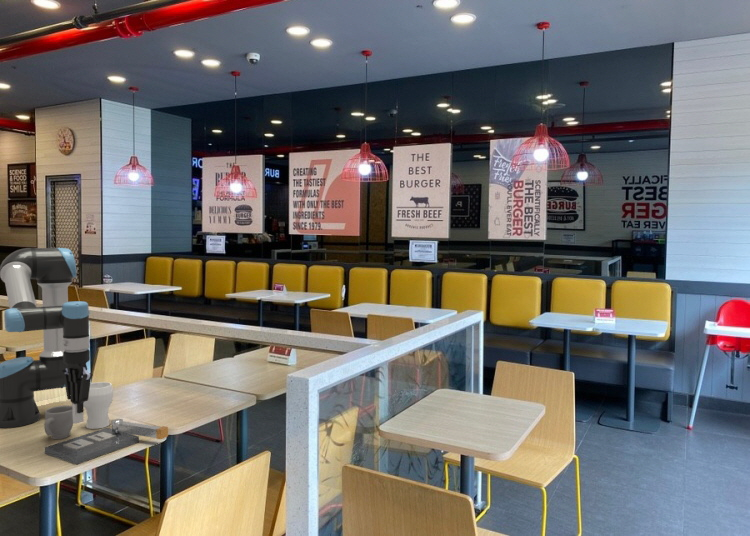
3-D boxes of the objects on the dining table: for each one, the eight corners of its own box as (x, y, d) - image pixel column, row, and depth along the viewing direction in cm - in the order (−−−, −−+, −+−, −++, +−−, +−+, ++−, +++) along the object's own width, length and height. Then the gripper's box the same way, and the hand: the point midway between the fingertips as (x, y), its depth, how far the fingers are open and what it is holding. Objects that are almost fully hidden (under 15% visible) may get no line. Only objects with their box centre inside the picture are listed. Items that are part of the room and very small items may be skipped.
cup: (101, 431, 201) (100, 390, 200) (75, 429, 203) (74, 388, 203) (120, 422, 212) (119, 382, 211) (95, 420, 214) (94, 380, 213)
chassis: (44, 453, 181) (44, 446, 181) (107, 433, 200) (107, 426, 200) (76, 464, 172) (76, 456, 172) (138, 442, 191) (138, 435, 191)
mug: (56, 431, 201) (55, 405, 200) (80, 432, 200) (79, 405, 200) (33, 444, 189) (32, 415, 188) (58, 445, 188) (58, 416, 188)
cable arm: (109, 431, 194) (109, 421, 194) (117, 428, 198) (117, 418, 197) (160, 439, 187) (160, 429, 187) (168, 436, 190) (168, 425, 190)
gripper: (53, 349, 182) (55, 422, 183) (77, 354, 175) (79, 429, 176) (75, 345, 188) (77, 415, 189) (99, 350, 182) (101, 422, 183)
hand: (78, 422), depth 183 cm, fingers closed
